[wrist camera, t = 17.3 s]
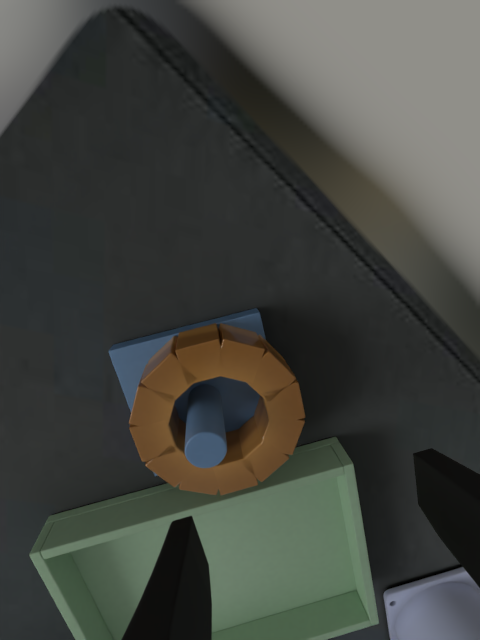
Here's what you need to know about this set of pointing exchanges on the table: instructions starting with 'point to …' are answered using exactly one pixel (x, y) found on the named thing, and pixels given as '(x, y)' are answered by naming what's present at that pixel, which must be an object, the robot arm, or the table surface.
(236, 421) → the post
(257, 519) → the tray
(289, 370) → the ring
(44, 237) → the table surface
